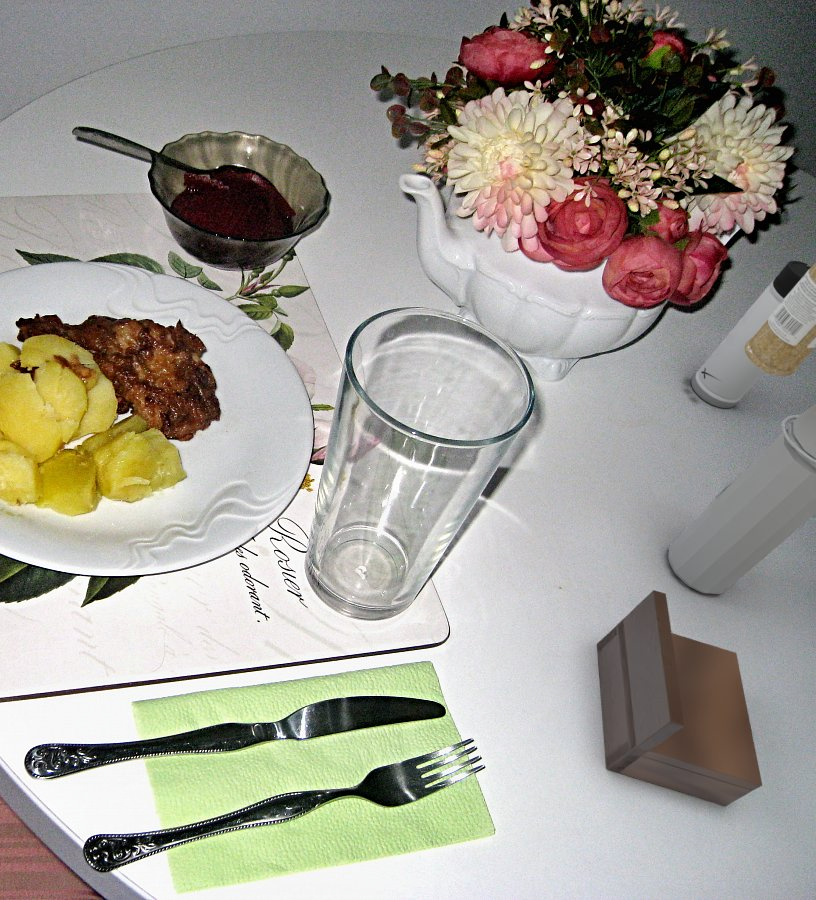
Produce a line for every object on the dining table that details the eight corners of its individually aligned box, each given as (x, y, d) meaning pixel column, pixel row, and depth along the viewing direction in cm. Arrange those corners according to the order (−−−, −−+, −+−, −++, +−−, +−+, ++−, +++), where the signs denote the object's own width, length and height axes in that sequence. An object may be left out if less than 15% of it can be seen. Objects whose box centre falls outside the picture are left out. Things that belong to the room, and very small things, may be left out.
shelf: (704, 676, 87) (771, 625, 80) (726, 806, 79) (803, 762, 71) (596, 643, 87) (653, 589, 80) (606, 769, 79) (670, 721, 71)
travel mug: (684, 392, 117) (786, 271, 102) (696, 367, 121) (795, 247, 106) (730, 417, 115) (840, 298, 100) (740, 391, 119) (847, 273, 104)
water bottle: (738, 607, 94) (922, 454, 76) (667, 588, 94) (834, 430, 75) (719, 538, 100) (886, 381, 82) (653, 520, 100) (804, 359, 82)
